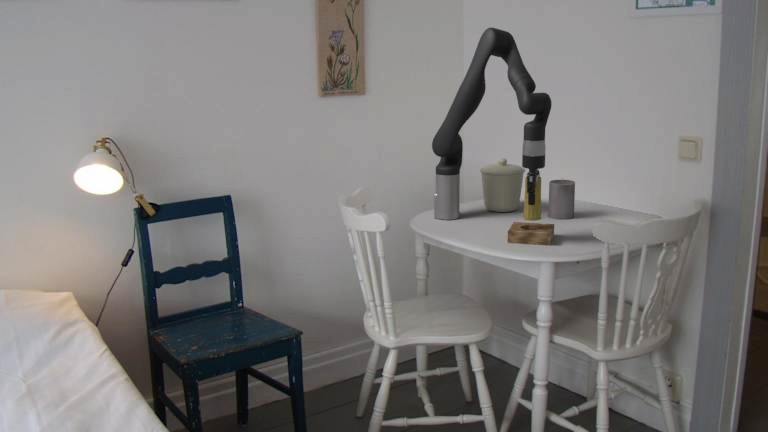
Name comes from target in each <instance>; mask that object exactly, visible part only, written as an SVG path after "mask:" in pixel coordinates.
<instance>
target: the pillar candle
mask: <svg viewBox="0 0 768 432" xmlns="http://www.w3.org/2000/svg"><path fill="white" fill-rule="evenodd" d="M575 190H576V182H575V181H574V180H572V179H571V180H570V179H563V178H562V179H553V180H550V181H549V185H548V216H547V217H548V218H550V219H554V220H570V219H573V218H574V216H575V198H576V197H575V196H576V195H575V194H576V191H575Z"/></svg>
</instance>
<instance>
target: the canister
mask: <svg viewBox="0 0 768 432" xmlns="http://www.w3.org/2000/svg"><path fill="white" fill-rule="evenodd" d="M479 172H480V173H481V182H482V183H481V184H482V194H483V204H484V207H485V208H486V209H487V210H488V211H490V212H491V211H492V212H493V213H494V212H496V213H509V212H510V213H511V212H514V211H516V210H517V209H518V207H520V206H519V205H520V200H521V194H522V187H523V179H524V174H525V172H526V168H523V167H522V166H520V165H518V164H510V163H508V160H507V158H505V157H500V158H498V160H497V163H491V164H486V165H483V167H481V168H479Z"/></svg>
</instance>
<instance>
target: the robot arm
mask: <svg viewBox="0 0 768 432" xmlns="http://www.w3.org/2000/svg"><path fill="white" fill-rule="evenodd" d="M491 56H493V57H497V58H501V59H502V60H503V61H504V62H505V64H506V65H507V80H508V83H509V84H510V86H511V87H512V89H513V90H514V92H515V96H516V99H517V105H518V109H519V110H520V112H521V113H522V114H524V115H526V116H533V115H535V116H534V118H533V120H531V121H527V122H526V123H524V125H523V141H522V150H521V151H522V153H521V155H522V156H521V157H522V161H521V162H522V163H521V165H522V166H521V167H522V168H523V169H528V172H527V173H526V177H527V193H528V205H535V193H536V188H537V186H538V178H539V177H541V176H540V175H541V172H540V170H539V169H543V168H545V167H546V149H547V147H546V126H547V123H548V120H549V116H550V114H551V110H552V99H551V96H550V95H549V94H548V93H547V92H535V90H536V87H537V86H536V81H534V79H533V77H532V76H531V73H529V71H528V69H527V68H526V66H525V64H524V62H523V59H522V57H521V53H520V51H519V49H518V45H517V43H516V41H515V38H514V36H513V35H512V34H511V33H510V32H508V31H506V30H502V29H499V28H495V27H487V28H486V29H485V30H484V31H483V32H482V34H481V36H480V38H479V41H478V43H477V46H476V49H475V52H474V54H473V56H472V60H471V61H470V65H469V67H468V69H467V72H466V74H465V76H464V78H463V80H462V81H461V83H460V86H459V87H458V90H457V92H456V94H455V97H454V99H453V101H452V103H451V106H450V108H449V109H448V111H447V114H446V116H445V118H444V119H443V122H442V123H441V125H440V127H439V129H438V130H437V132H436V133H435V135H434V137H433V139H432V142H431V148H432V151H433V154H434V155H436V157H439V158H440V160H439V162H438V163H437V165H436V166H435V193H434V194H433V195H434V197H433V199H434V200H433V202H434V203H433V209H434V210H433V218H434V219H438V220H445V221H446V220H447V221H450V220H457V219H459V218H460V206H461V204H460V200H461V199H460V195H461V194H460V190H461V187H460V185H461V184H460V183H461V181H460V178H461V177H460V174H461V171H460V170H461V168H462V164H463V151H464V150H463V148H464V147H463V139H462V136H461V135H460V131H461V129H462V127H463V126H464V125H465V124H466V123H467V121H468V120H469V119H470V118H471V117H472V116H473V115H474V113H475V112H476V111H477V110H478V107H479V106H480V104H481V102H482V100H483V99H484V95H485V94H486V85H487V84H486V75H485V72H486V67H487V65H488V61H489V60H490V58H491ZM535 181H536V184H535ZM530 187H533V189H530Z"/></svg>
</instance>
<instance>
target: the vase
mask: <svg viewBox="0 0 768 432" xmlns="http://www.w3.org/2000/svg"><path fill="white" fill-rule="evenodd" d="M524 180H525V182H524V184H525V185H524V186H525V187H524V202H523V203H524V204H523V205H524V206H523V214H522V215H523V217H522V218H523V219H524V220H526V221H540V220H542V177H541V176H540V177H539V178H538V186H537V188H536V193H535V205H528V193H527V176H525V179H524ZM535 184H536V181H535ZM530 189H533V187H530Z"/></svg>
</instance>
